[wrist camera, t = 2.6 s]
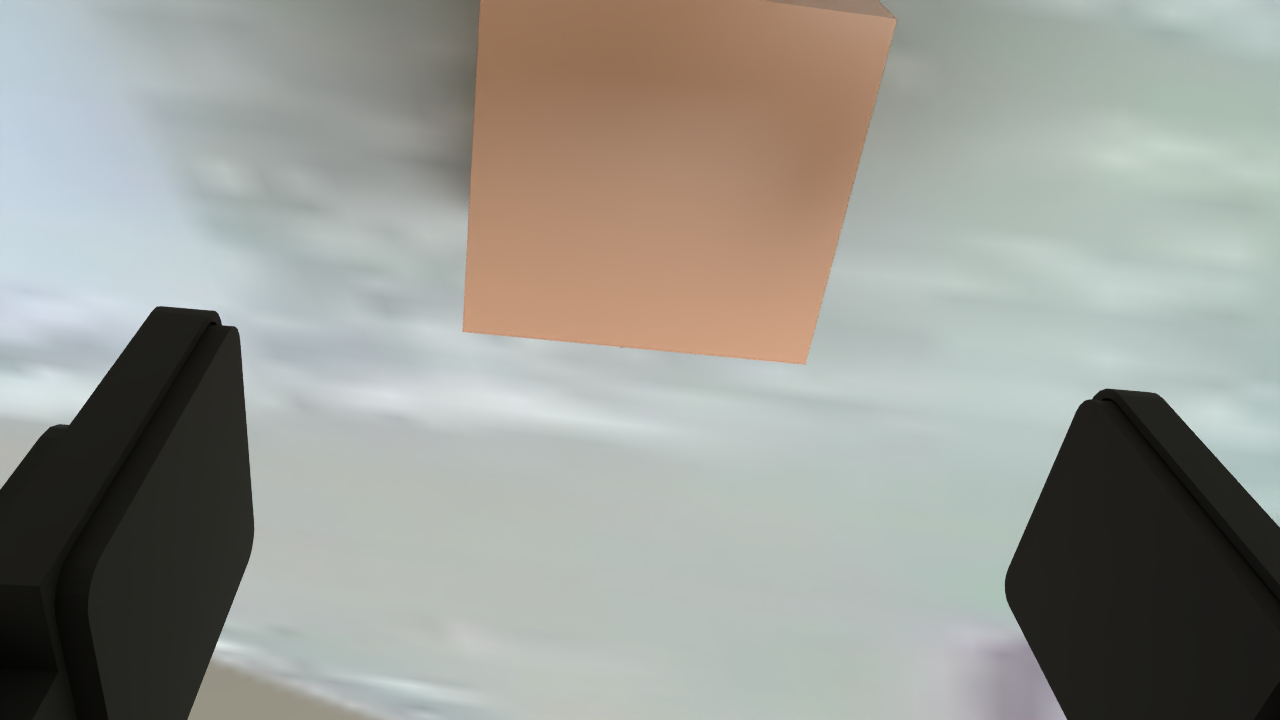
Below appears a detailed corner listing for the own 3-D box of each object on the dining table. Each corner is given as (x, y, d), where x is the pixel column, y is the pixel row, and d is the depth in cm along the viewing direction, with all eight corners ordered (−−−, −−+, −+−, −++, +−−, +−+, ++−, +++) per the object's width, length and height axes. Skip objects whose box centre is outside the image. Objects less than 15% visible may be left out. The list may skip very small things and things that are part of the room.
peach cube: (505, -91, 19) (482, -38, 15) (831, -45, 20) (896, 19, 16) (485, 217, 23) (462, 331, 18) (766, 247, 23) (805, 364, 19)
